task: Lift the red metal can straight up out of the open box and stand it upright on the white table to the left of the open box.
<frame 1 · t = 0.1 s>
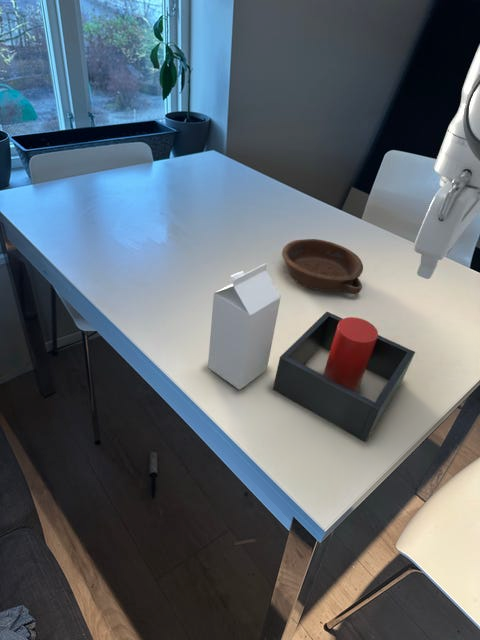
hand: (434, 262, 62), 23 cm above the table, tool pointing down, fingers open, 8 cm apart
open box: (339, 385, 74), on the table
dish: (317, 276, 101), on the table
can: (348, 359, 70), in the open box
milk carton: (237, 370, 74), on the table
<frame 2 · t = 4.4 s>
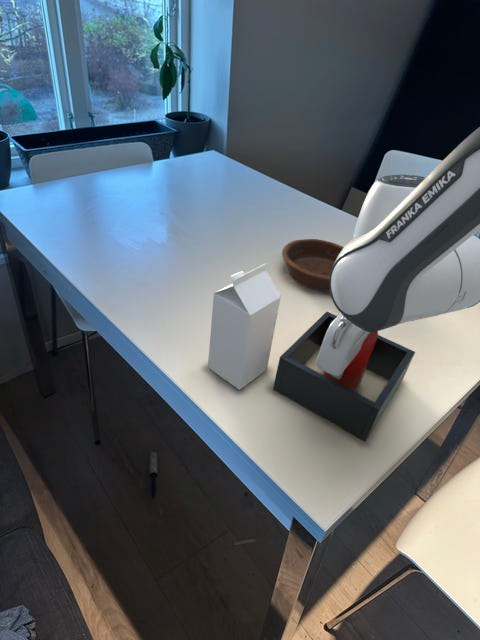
hand: (346, 362, 71), 5 cm above the table, tool pointing down, fingers closed on can, 6 cm apart
can: (348, 358, 70), in the open box, touching gripper
everything else where it was.
when the fingers open (5 cm above the table, at t = 13.2 s): can stays where it is, on the table.
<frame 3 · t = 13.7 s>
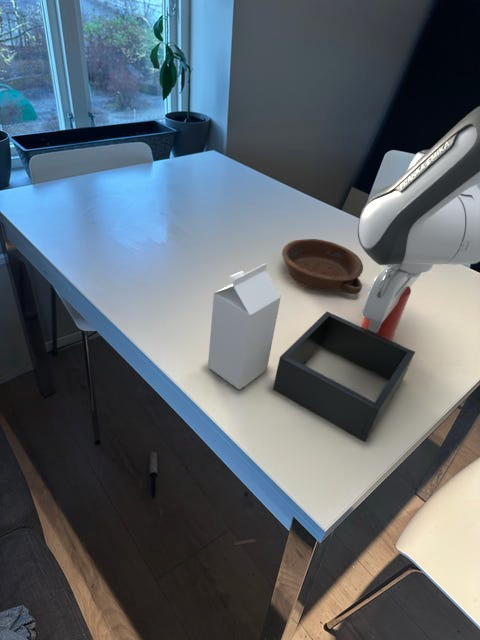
hand: (383, 317, 81), 5 cm above the table, tool pointing down, fingers open, 8 cm apart
can: (383, 314, 81), on the table
everything else where it was.
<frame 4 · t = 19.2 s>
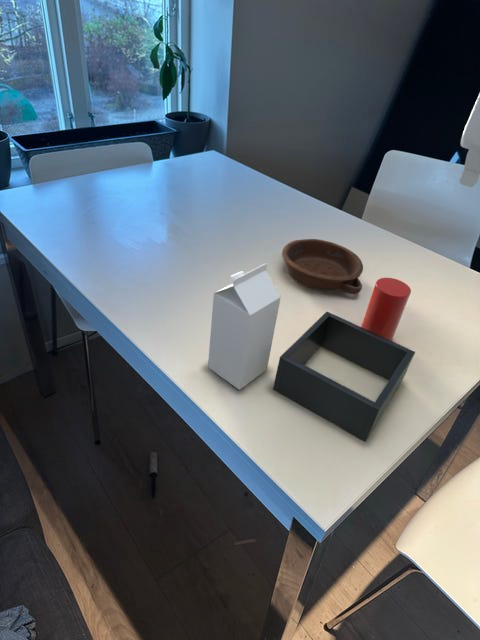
hand: (475, 175, 56), 35 cm above the table, tool pointing down, fingers open, 8 cm apart
nothing on the table moved.
at the end: can inside the target area (0.2 cm from its centre), on the table; can tilted 0°; the gripper is holding nothing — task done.
